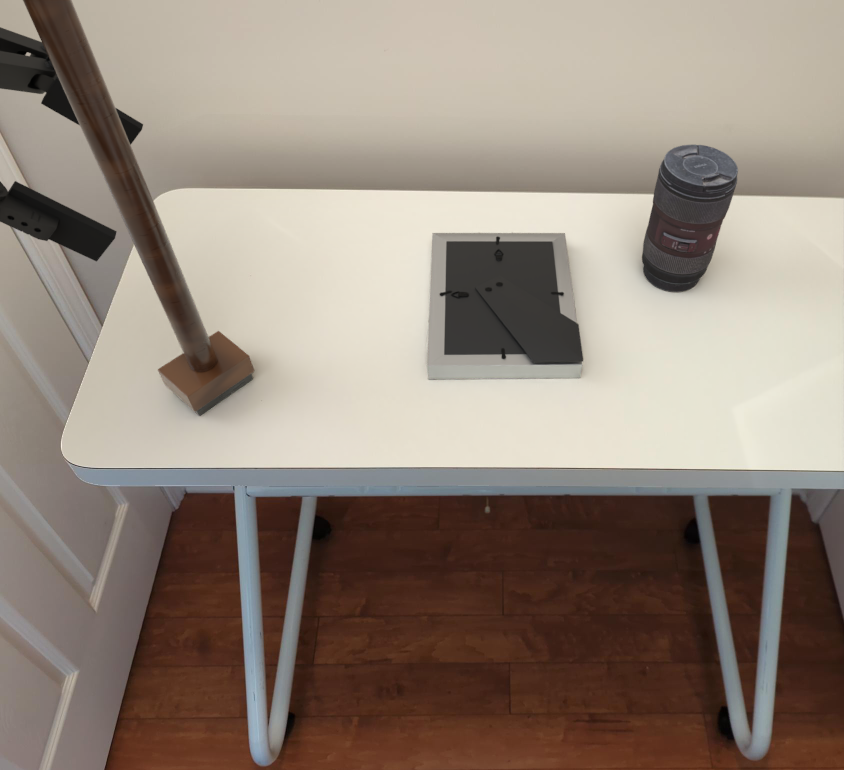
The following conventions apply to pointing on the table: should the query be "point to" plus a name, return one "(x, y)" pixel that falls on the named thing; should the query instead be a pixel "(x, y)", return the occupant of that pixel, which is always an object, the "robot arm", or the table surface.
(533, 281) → the picture frame
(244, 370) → the brown piece
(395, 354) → the table surface
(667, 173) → the camera lens
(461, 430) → the table surface
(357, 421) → the table surface
